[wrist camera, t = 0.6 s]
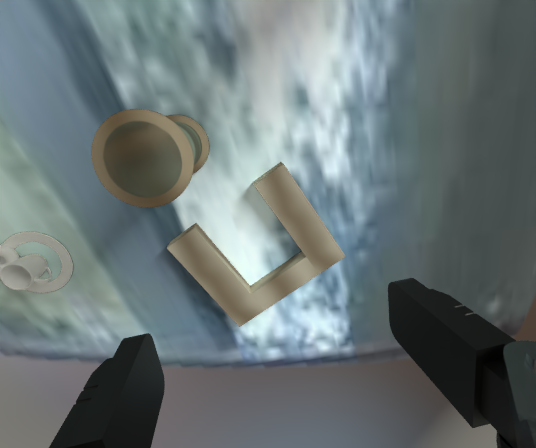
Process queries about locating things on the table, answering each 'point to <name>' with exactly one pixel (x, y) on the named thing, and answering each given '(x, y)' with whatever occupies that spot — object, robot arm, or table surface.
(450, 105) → the table surface
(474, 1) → the table surface
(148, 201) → the bobbin
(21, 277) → the white curved piece
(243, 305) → the tan u-shaped bracket
